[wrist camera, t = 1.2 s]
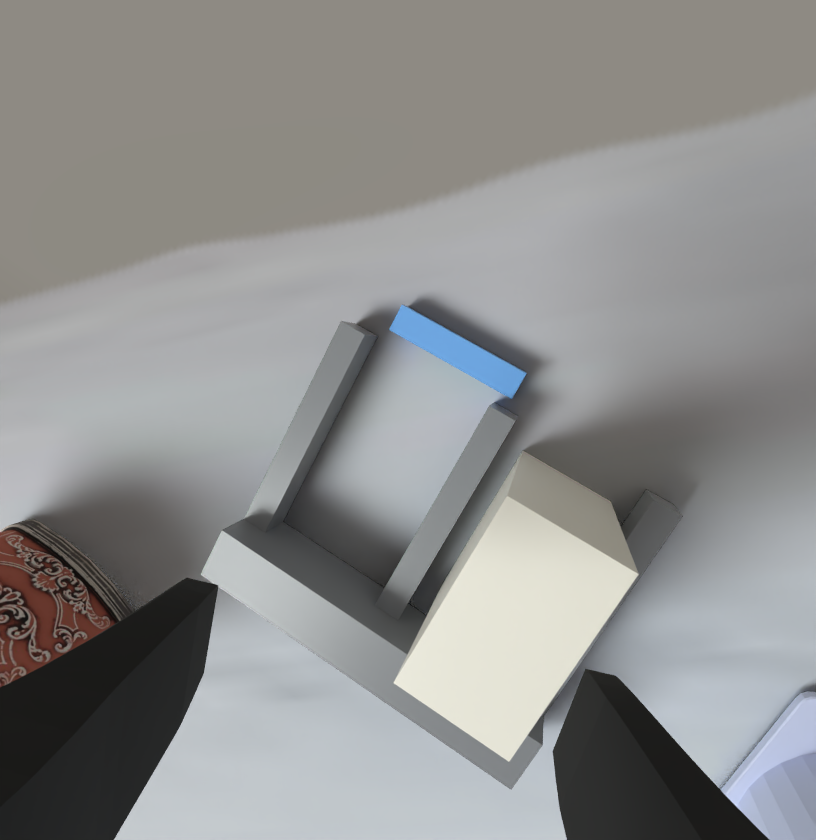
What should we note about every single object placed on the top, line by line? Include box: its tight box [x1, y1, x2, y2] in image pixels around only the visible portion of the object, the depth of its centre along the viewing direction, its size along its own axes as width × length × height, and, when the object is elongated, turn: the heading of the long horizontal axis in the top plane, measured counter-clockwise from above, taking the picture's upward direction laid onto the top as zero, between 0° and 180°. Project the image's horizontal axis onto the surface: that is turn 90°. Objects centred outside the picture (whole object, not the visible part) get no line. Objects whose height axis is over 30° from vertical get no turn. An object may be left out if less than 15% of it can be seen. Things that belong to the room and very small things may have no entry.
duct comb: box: [201, 321, 683, 789], centre depth 20 cm, size 13×10×3 cm
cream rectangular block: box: [394, 451, 639, 762], centre depth 18 cm, size 4×6×7 cm, turn 152°
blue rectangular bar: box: [389, 305, 527, 399], centre depth 20 cm, size 5×1×1 cm, turn 61°
